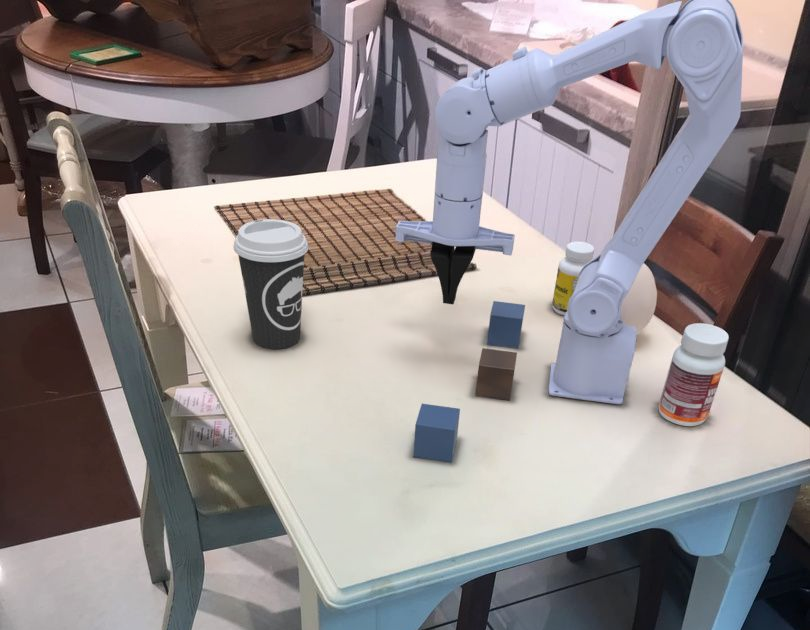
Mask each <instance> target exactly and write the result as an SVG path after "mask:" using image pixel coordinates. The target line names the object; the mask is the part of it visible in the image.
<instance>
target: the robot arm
mask: <svg viewBox="0 0 810 630" xmlns="http://www.w3.org/2000/svg"><path fill="white" fill-rule="evenodd" d="M682 4H683V1H682V0H679V1H675V2H671V3H668V4H665V5H662V6H660V7H657V8H654V9H651V10H649V11H646V12H643V13H641V14H638V15H636V16H634V17H632V18H630V19H628V20H626V21H624V22H621V23H619V24H617V25H615V26H613V27H610V28H608V29H607V30H605V31H603V32H600V33H599V34H597V35H594V36H592V37H590V38H588V39H585V40H584V41H582V42H580V43H577V44H576V45H572V46H571V47H569V48H567V49H565V50H563V51H561V52H558V53H556V54H552V53H548V52H546V51H544V50H542V49H541V48H534V49H531V50H529V51H528V49H527V47H526V46H523V47H520V48H518V49H516V50H514V52H512V58H511V59H509V60H507V61H504V62H501V63H500V64H497V65H495V66H494V67H491V68H489V69H487V70H484V68H483V67H479V68H477V69H475V70H473V71H472V73H471V76H470V77H467V76H466V77H464V78H463V77H462V78H461V79H459V80H457V81H456V82H455V83H454V84H453V85H452V86H450V87H449V88H448V89H447V90H445V92H444V93H442V94H441V97H440V98H439V100H438V101H437V104H436V106H435V109H434V121H435V126H436V128H437V131H438V132H439V136H438V137H439V138H438V150H437V153H436V154H437V155H436V166H435V167H436V168H435V169H436V170H435V180H434V182H435V184H434V198H433V213H432V220H426V221H425V220H422V221H408V220H398V222H397V224H396V225H395V242H396V243H397V242H399V243H404V242H405V241H406V242H415V243H422V244H423V243H424V244H431V247H430V248H431V249H430V253H429V255H430V260H431V262H432V264H433V266H434V268H435V271H436V274H437V277H438V279H439V284H440V289H441V294H442V304H444V305H445V304H446V305H454V304H455V301H456V298H457V292H458V288H459V286H460V283H461V281H462V280H463V277H464V274H465V273H466V271H467V269H468V268H469V266H470V265H471V263H472V261H473V259H474V256H475V253H476V250H479V251H488V252H497V253H502V254H503V255H505V256H512V254H513V250H514V246H515V245H514V244H515V238H516V234H514V233H509V232H503V231H499V230H495V229H491V228H487V227H483V226H480V221H481V215H482V214H481V213H482V204H483V203H482V202H483V196H484V195H483V193H484V184H485V176H486V167H487V158H488V157H487V156H488V155H487V144H488V136H489V130H488V129H487V128H488V127H498V128H499V127H501V126H504V125H507V124H509V123H511V122H514V121H516V120H519V119H522V118H524V117H526V116H529V115H531V114H534V113H537V112H539V111H542V110H544V109H546V108H549V107H551V106H553V105H554V104H555V103H556V99H557V97H558V95H559V93H560V90H561V88H564V87H566V86H569V85H573V84H575V83H577V82H581V81H583V80H586V79H589V78H591V77H595V76H597V75H599V74H602V73H605V72H608V71H610V70H613V69H615V68H619V67H621V66H624V65H627V64H629V63H634V62H636V63H638V64H641V65H644V66H647V67H651V68H653V69H657V70H661V69H662V66H663V64H664V60H665V57H666V58H667V62H668V65H669V67H670V69H671V70H672V72H673V74H674V75H675V76H676V78H677V80H678V81H679V82H680V85H682V87H683V89H684V94H685V99H686V104H687V107H688V112H689V114H688V116H687V118H686V119H685V120H684V122H683V124H682V125H681V127H680V128H679V130H678V132H677V134H676V135H675V137H674V138H673V140H672V141H671V143H670V145H669V147H668V148H667V149H666V151H665V153H664V154H663V156H662V157H661V159H660V161H659V162H658V164H657V166H656V167H655V169H654V171H653V172H652V174H651V175H650V177H649V178H648V180H647V181H646V183H645V184H644V186H643V188H642V190H641V191H640V192H639V194H638V196H637V197H636V198H635V201H634V202H633V204H632V205H631V207H630V208H629V210H628V212H627V213H626V215H625V216H624V218H623V220H622V221H621V222H620V224H619V226H618V227H617V229H616V231H615V233H614V234H613V236H612V237H611V239H610V240H609V241H607V243H606V244H605V245H604V247H603V248H602V250H601V251H600V252H599V254H598V255H597V256H596V257H595V258H592V260H591V261H589V262H588V263H587V264H585V265H584V267H583V268H582V269H581V271H580V273H579V276H578V280H577V285H576V287H575V290H574V293H573V295H572V296H571V298H570V300H569V302H568V306H567V312H566V313H565V316H564V317H563V322H562V328H561V333H560V338H559V343H558V349H557V354H556V360H555V362H551V364H550V371H549V380H548V395H550V396H553V397H561V398H567V399H574V400H583V401H588V402H589V401H590V402H599V403H606V404H613V405H622V404H623V402H624V396H625V391H626V387H627V384H628V382H629V379H630V372H631V368H632V365H633V360H634V355H635V351H636V346H637V339H638V338H637V336H638V334H637V328H636V327H634V326H630V325H626V324H624V323H623V319H622V318H621V316H620V315H621V307H622V303H623V300H624V298H625V296H626V295H627V293H628V292H629V290H630V288H631V286H632V284H633V282H634V280H635V278H636V276H637V274H638V272H639V270H640V268H641V266H642V265H643V263H644V264H645V262H646V261H647V259H648V257H649V256H650V254H651V253H652V252H653V250H654V249H655V247H656V246H657V244H658V242H660V239H661V238H662V237H663V235H664V234H665V232H666V230H667V229H668V228H669V226H670V224H671V223H672V221H673V220H674V219H675V217H676V216H677V214H678V213H679V211H680V209H681V208H682V207H683V205H684V204H685V202H686V201H687V200H688V198H689V196H690V195H691V193H692V192H693V191H694V189H695V187H696V186H697V184H698V183H699V181H700V180H701V178H702V177H703V175H704V174H705V172H706V171H707V169H708V168H709V166H710V165H711V163H712V162H713V160H714V159H715V158H716V157H717V154H719V152H720V150H721V149H722V147H723V145H725V143H726V141H727V140H728V138H729V137H730V136H731V134H732V133H733V131H734V129H735V128H736V126H737V124H738V123H739V121H740V118H741V112H742V108H741V107H742V86H743V85H742V84H743V83H742V81H743V63H744V36H743V30H742V28H741V24H740V21H739V17H738V14H737V11H736V8H735V6H734V4H733V3H732V1H731V0H687V1H686V2H685V3H684V4H683V5H682ZM681 6H682V7H681Z"/></svg>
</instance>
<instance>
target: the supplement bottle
mask: <svg viewBox="0 0 810 630" xmlns="http://www.w3.org/2000/svg"><path fill="white" fill-rule="evenodd" d="M594 254H595V247H594V245H593V244H592V243H591V244H590V243H588V242H585V241H570V242H569V243H567V244H566V248H565V257H563V258H561V259H560V260H559V263H558V267H557V273H556V279H555V284H554V285H555V286H554V291H553V297H552V301H551V302H552V304H551V307H552V310H553V311H554V312H555V313H557V314H558V315H560V316H565V313H566V312H567V306H568V302H569V300H570V298H571V296H572V295H573V293H574V290H575V287H576V285H577V280H578V276H579V273H580V271H581V269H582V268H583V267H584V265H585V264H587V263H588V262H589V261H591V260H593V259H594Z"/></svg>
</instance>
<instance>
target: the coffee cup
mask: <svg viewBox="0 0 810 630" xmlns="http://www.w3.org/2000/svg"><path fill="white" fill-rule="evenodd" d="M308 250H309V243H308V241H307V238H306V236H305V235H304V233H303V231H302V229H301V227H300V226H299V225H297V224H296V223H294V222H290V221H288V220H283V219H275V218H274V219H273V218H265V219H256V220H252V221H248V222H247V223H244V224H243V225H241V226H240V227H239V229H238V232H237V235H236V236H235V238H234V241H233V251H234V253H235V254H237V257H238V262H239V266H240V267H239V268H240V272H241V278H242V284H243V289H244V295H245V300H246V301H245V302H246V306H247V307H246V308H247V312H248V318H249V319H248V320H249V324H250V331H251V335H252V340H253V342H254V344H256V345H257V346H259V347H261V348H263V349H267V350H268V349H269V350H283V349H289V348H291V347H293V346H295V345H297V344H298V343H299V341H300V340H301V327H302V309H303V307H302V306H303V290H304V289H303V288H304V272H305V271H304V270H305V256H306V255H305V254H306V253H307V252H308Z"/></svg>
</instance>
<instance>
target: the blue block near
mask: <svg viewBox="0 0 810 630" xmlns="http://www.w3.org/2000/svg"><path fill="white" fill-rule="evenodd" d="M460 414H461V408H459V407H458V408H457V407H452V406H451V407H450V406H444V405H443V406H442V405H436V404H427V403H421V405H420V408H419V411H418V415H417V417H416V421H415V425H414V441H413V454H412V455H413V456H412V457H413V458H419V459H425V460H432V461H440V462H446V463H452V462H453V459H454V454H455V451H456V445H457V441H458V432H459V423H460Z"/></svg>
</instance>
